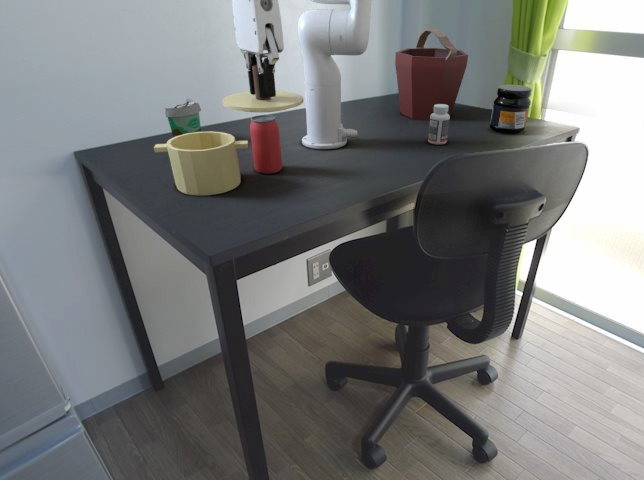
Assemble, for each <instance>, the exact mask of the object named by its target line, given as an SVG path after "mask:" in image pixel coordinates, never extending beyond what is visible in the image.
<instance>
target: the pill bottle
mask: <svg viewBox="0 0 644 480" xmlns="http://www.w3.org/2000/svg"><path fill="white" fill-rule="evenodd" d="M448 108H449V106H448V105H445V104H436V105H434V110H433V111H434V113H433V114H431V116H430V120H429V125H428V126H429V128H428V136H427V142H428V143H429V144H432V145H445V144H447V143H448V135H449V130H450V128H449V127H450V121H451V117H450V116H449V114H447V112H448Z"/></svg>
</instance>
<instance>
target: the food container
mask: <svg viewBox="0 0 644 480" xmlns="http://www.w3.org/2000/svg"><path fill="white" fill-rule="evenodd" d="M164 109H165V111H164V112H165V118H167V120H168V123H169V128H170V131H171V134H172V138H174V137H176V136H179V135H183V134H187V133H194V132H202V127H201V118H200V112H202V108H201V106H200V104H199V102H198V101H197V100H196V99H191V98H186V102H184V103H183V104H176V105H175V106H174V107H167V108H166V107H165V108H164Z"/></svg>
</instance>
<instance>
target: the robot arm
mask: <svg viewBox="0 0 644 480" xmlns="http://www.w3.org/2000/svg"><path fill="white" fill-rule="evenodd" d="M310 1H311V2H313V3H316V4H319V5H320V4H322V5H323V4H324V5H348V6H350V9H334V8H330V9H328V8H315V9H314V8H313V9H309V10H307V11H304V12H303V13H302V14H301V15H300V17H298V18H299V19H298V22H297V35H298V41H299V46H300V51H301V57H302V65H303V81H304V97H305V99H304V100H305V116H306V117H305V118H306V135H304V136H303V137H302V138H301V144H302V145H303V146H304V147H306V148H310V149H315V150H333V149H338V148H342V147H344V146H345V145H347V143H348V138H351V139H357V138H358V130H355V129H354V128H345V127H344V126H343V125H344V123H342V78H341V77H342V76H341V75H342V74H341V71H340V68H339V67H338V65H337V63H336V61H335V60H334V58H333V57H332V56H361V55H363V54H365V52H366V51H367V49H368V45H369V40H370V39H369V38H370V29H371V28H370V27H371V14H372V13H371V11H372V0H310ZM231 5H232V7H231V8H232V18H233V29H234V34H235V35H234V36H235V42H236V45H237V47H238V48H239V50H240V52H241V54H242V55H243V59H244V60H245V67H246V70H247V77H248V85H249V91H250V93H251V94H252V95H255V87H254V79H253V70H252V66H253V65H257V66H258V72H259V74H257V83H258V92H259V97H260V98H269V97H275V96H276V91H277V90H276V81H275V79H276V78H275V73H276V67H275V66H276V63H277V62H278V61H279V60H280V53H282V52H283V51H284V49H285V46H284V45H285V43H284V35H283V25H282V24H283V23H282V17H281V9H280V2H279V0H231ZM264 51H267V52H264Z"/></svg>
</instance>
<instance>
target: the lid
mask: <svg viewBox="0 0 644 480" xmlns="http://www.w3.org/2000/svg"><path fill="white" fill-rule="evenodd" d="M252 70H253V79H254V87H255V95H252V94H251V93H250V90H249V91H248V90H247V91H242V92H241V91H240V92H236V93H232V94H229V95H227V96H225V97H223V98H222V101H221V102H222V105H223V106H224V107H225V108H227V109H231V110H234V111H240V112H247V113H273V112H274V113H275V112H281V111H286V110H289V109H293V108H297V107H298V106H301V105H302V104H303V103H304V97H303V95H302V94H299V93H297V92H293V91H287V90H276V96H275V97H269V98H260V97H259V92H258V83H257V74H259V72H258V66H257V65H253V66H252Z"/></svg>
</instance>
